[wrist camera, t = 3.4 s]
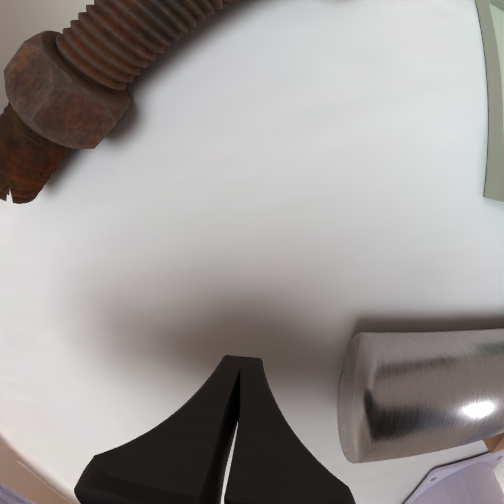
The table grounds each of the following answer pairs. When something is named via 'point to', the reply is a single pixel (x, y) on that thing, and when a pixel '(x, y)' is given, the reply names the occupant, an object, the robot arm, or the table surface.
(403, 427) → the axle
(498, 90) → the pale green channelled slab
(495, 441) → the bearing block
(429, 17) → the table surface
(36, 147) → the bolt
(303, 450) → the robot arm
